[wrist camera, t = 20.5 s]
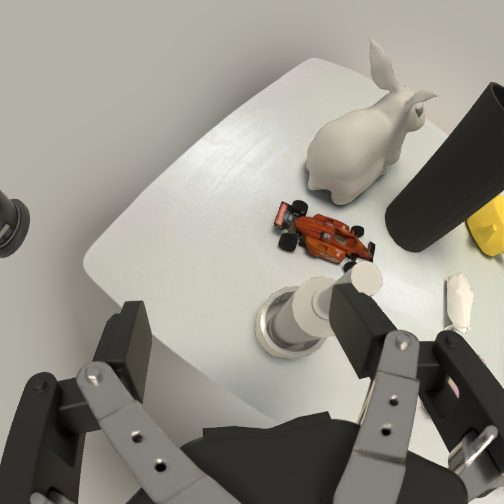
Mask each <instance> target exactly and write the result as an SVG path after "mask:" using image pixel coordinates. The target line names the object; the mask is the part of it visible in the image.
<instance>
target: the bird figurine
mask: <svg viewBox="0 0 504 504" xmlns="http://www.w3.org/2000/svg"><path fill="white" fill-rule="evenodd" d="M445 279H446V281H447V312H448V315H449V318H450V319H451V321H452V323H453V324H452V325H450V326H447V327H446V328H444V329H443V330H447V329H448V330H451V329H454V331H455V330H458V331H460V332H461V333H466V331H467V329H470V314H471V307H472V304H473V300H474V292H473V290H472V288H470V287H469V285H468V281H467V279H466V277H465V276H464V275H463V274H461V273H457V274H454V275H452V276H450V278H449V279H447V278H445ZM448 330H447V331H448ZM466 334H467V333H466Z"/></svg>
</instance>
